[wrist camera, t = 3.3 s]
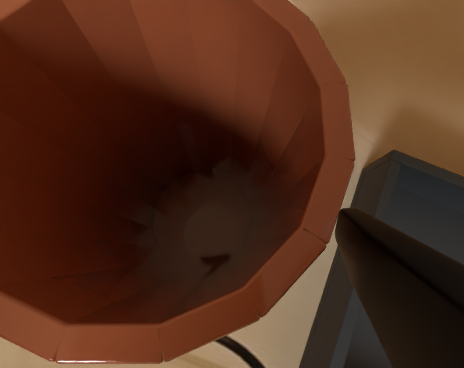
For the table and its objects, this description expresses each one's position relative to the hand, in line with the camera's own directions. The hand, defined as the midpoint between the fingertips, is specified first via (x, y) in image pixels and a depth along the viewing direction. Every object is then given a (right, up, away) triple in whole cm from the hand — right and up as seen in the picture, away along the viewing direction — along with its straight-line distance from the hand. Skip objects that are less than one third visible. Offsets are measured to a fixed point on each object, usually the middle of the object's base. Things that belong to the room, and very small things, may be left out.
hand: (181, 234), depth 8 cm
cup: (0, -1, +9) cm, 9 cm away
